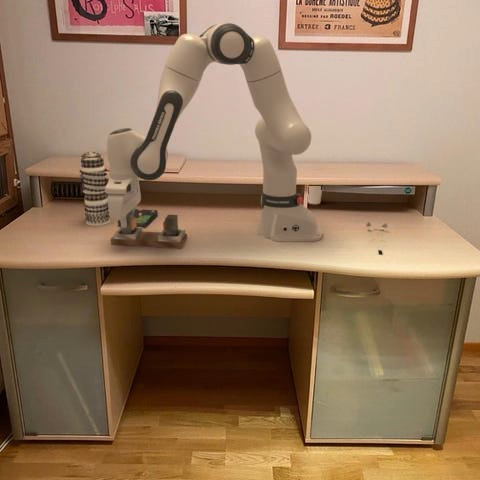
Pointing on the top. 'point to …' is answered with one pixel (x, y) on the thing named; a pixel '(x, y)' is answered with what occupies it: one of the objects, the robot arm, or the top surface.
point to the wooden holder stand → (154, 236)
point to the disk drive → (143, 217)
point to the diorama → (377, 229)
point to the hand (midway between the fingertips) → (127, 223)
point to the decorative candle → (94, 188)
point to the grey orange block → (130, 224)
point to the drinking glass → (314, 191)
